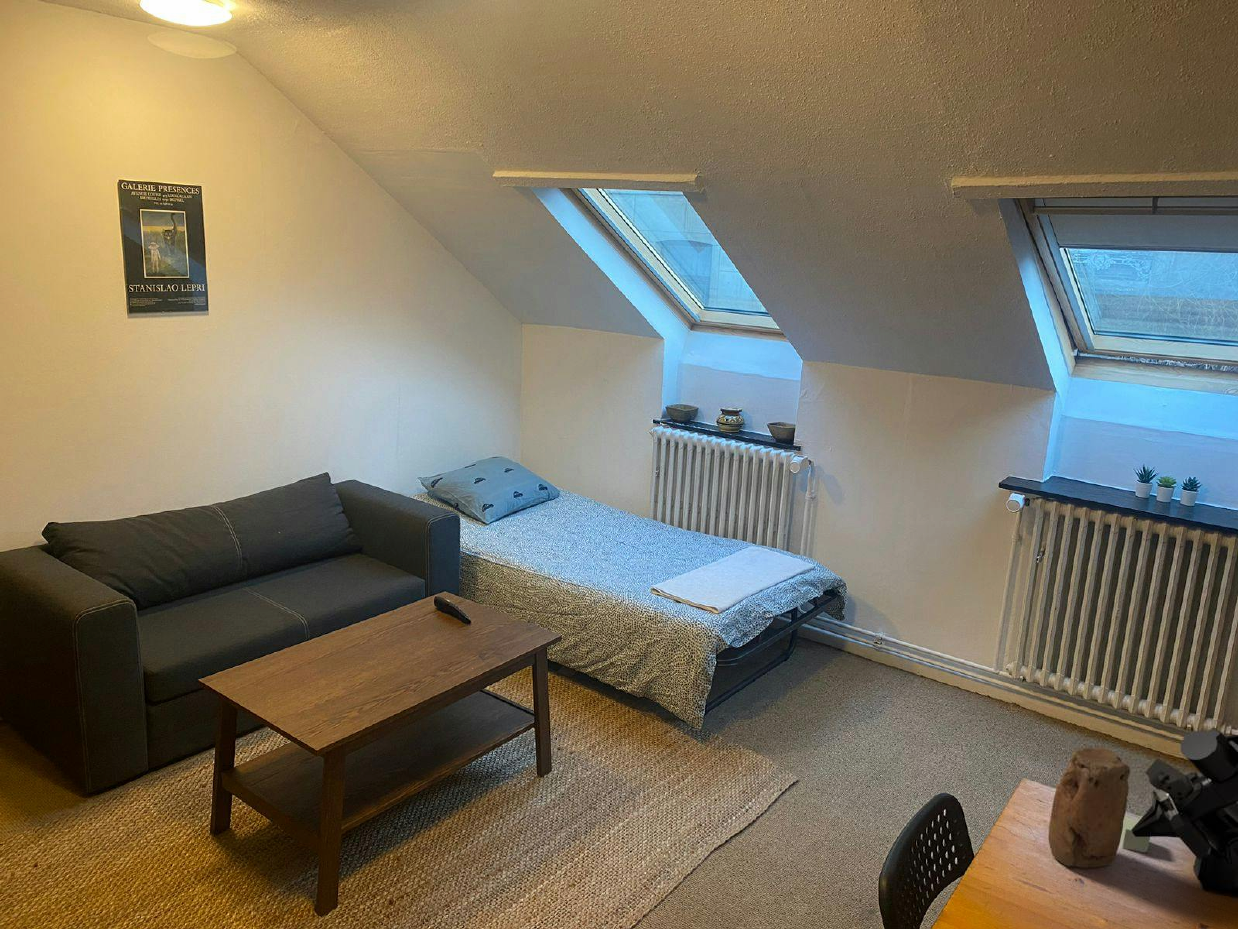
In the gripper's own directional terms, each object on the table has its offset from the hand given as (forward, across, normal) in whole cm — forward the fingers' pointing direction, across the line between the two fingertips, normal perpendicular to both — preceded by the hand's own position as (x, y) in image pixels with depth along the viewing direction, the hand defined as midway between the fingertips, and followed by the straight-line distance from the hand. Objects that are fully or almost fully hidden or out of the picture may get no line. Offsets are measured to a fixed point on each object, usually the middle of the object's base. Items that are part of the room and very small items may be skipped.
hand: (1133, 833), depth 160 cm
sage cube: (+3, -8, +6) cm, 10 cm away
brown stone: (+10, 0, -1) cm, 10 cm away
